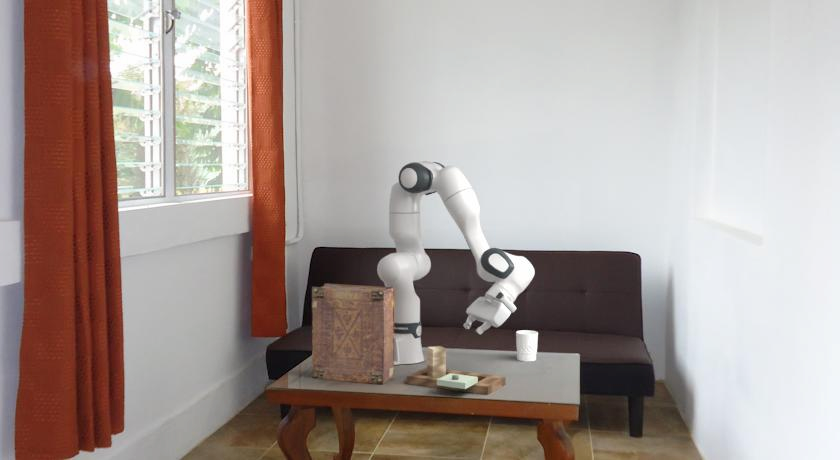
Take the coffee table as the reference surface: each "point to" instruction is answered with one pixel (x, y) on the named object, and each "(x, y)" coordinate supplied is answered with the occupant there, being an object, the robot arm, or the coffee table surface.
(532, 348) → the white cup
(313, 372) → the book
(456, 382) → the lid
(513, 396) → the coffee table surface
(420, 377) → the puzzle board
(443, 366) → the maple block
